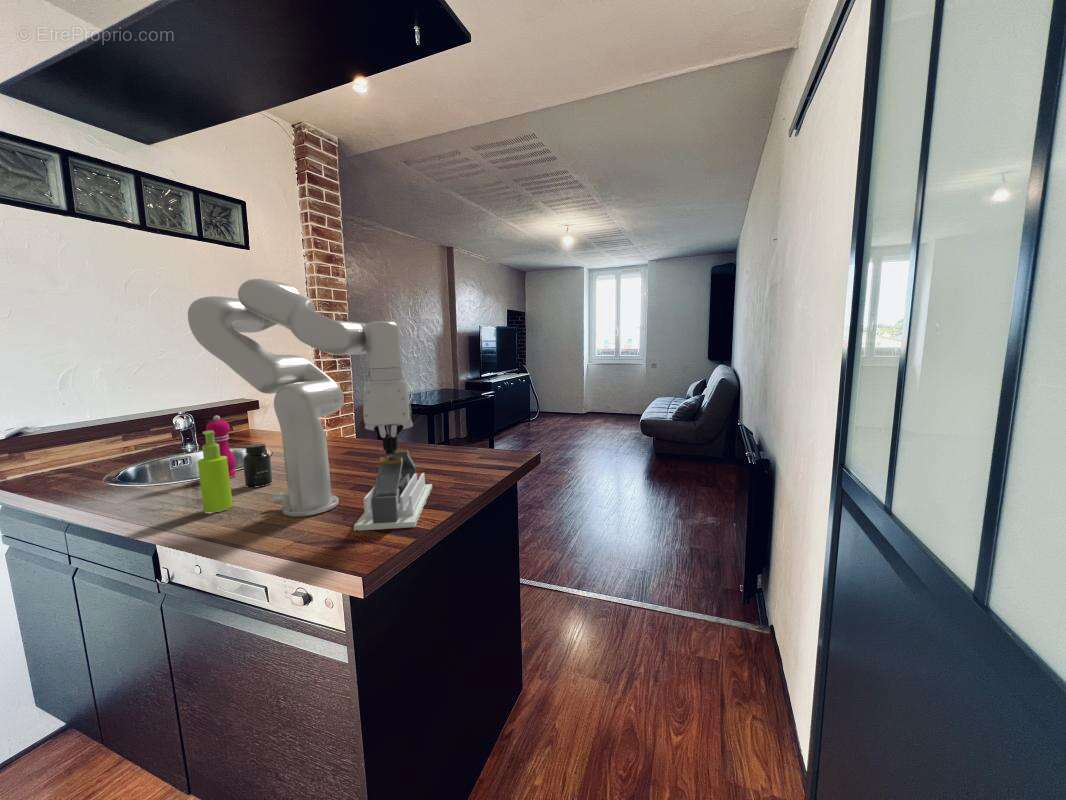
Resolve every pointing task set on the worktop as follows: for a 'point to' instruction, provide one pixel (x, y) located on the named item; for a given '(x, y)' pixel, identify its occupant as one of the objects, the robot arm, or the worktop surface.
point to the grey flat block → (388, 476)
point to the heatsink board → (396, 504)
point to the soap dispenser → (214, 476)
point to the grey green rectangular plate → (404, 458)
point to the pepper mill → (222, 441)
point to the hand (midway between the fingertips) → (391, 452)
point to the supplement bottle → (257, 466)
